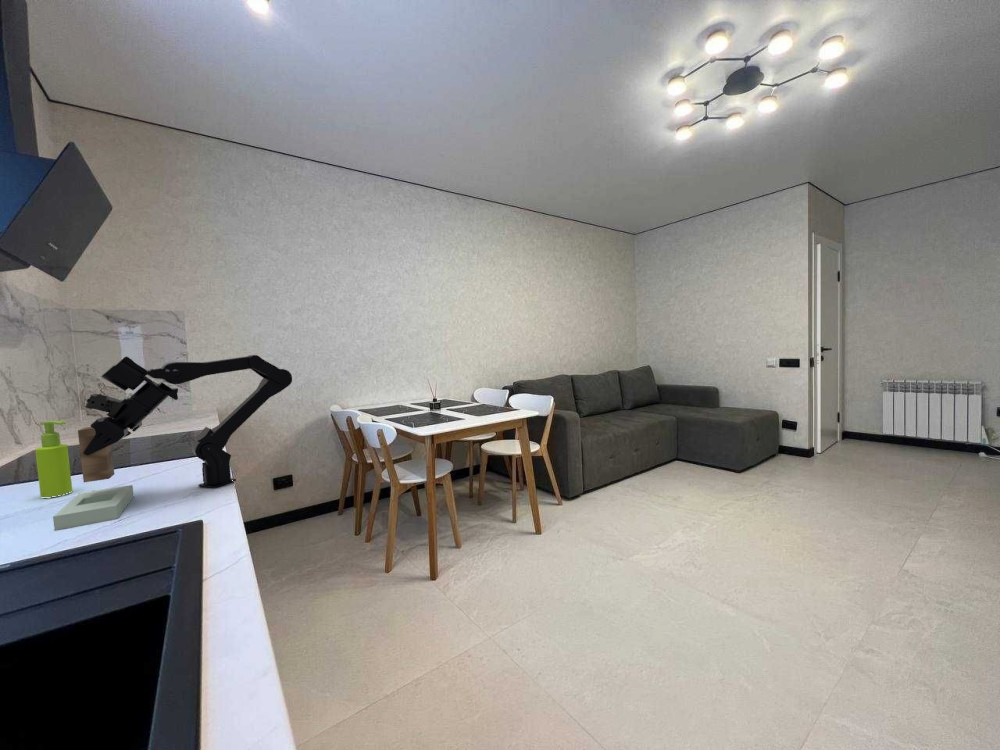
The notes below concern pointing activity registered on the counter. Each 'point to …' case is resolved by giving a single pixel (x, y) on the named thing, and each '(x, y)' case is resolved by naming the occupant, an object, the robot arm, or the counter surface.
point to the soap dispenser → (53, 463)
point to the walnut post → (95, 458)
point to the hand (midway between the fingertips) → (88, 452)
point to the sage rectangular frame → (93, 507)
